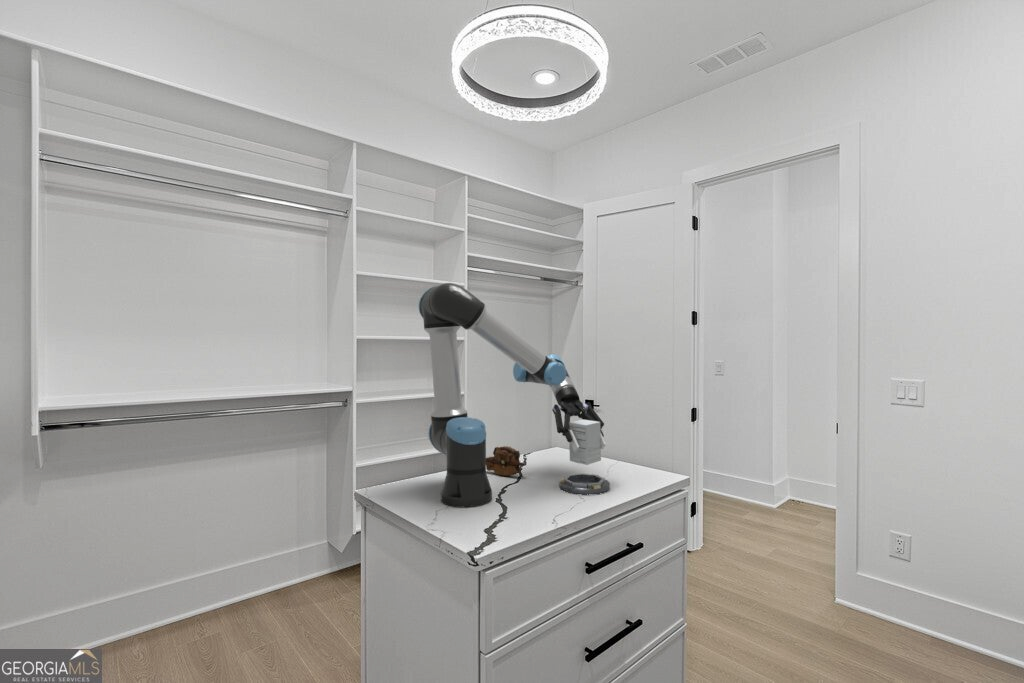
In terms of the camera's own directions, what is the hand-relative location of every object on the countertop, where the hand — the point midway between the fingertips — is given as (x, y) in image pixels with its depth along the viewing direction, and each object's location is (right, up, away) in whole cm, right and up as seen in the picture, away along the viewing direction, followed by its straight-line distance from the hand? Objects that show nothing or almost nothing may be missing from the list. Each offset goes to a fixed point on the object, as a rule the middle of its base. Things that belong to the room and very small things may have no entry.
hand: (590, 448), depth 157 cm
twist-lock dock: (-1, -13, +3) cm, 14 cm away
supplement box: (-1, -5, +3) cm, 6 cm away
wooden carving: (-27, -14, +18) cm, 35 cm away
